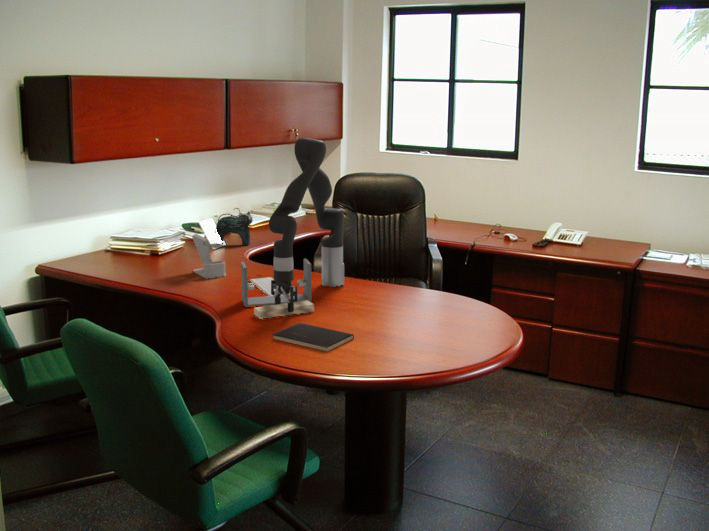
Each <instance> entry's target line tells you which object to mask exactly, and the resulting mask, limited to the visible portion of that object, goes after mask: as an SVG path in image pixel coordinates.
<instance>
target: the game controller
mask: <svg viewBox="0 0 709 531" xmlns="http://www.w3.org/2000/svg"><path fill="white" fill-rule="evenodd" d="M236 209H237V210H238V211H239V213H238V215H233V214H231V213H223V214H221V215H219V217H218V219H217V223H216V228H215V230H216V229H217V232H218V234H219V235H220V237H221V240H222V241H225V237H226V235H227V234H230V233H231V234H237V235H239V236H240V239H241V244H242V246H243V247H244V246H246V247H247V246H251V234H250V233H251V232H250V228H249V227H250V225H251V224H252V223H253V216H252V215H251V213H250V211H247V212H246V213H243V212H241V209H240V208H238V207H235V208H234V210H236ZM225 215H228V216H225ZM222 216H223V217H222Z"/></svg>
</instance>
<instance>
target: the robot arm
mask: <svg viewBox="0 0 709 531" xmlns="http://www.w3.org/2000/svg"><path fill="white" fill-rule="evenodd" d="M293 152H294V156H295V159H296V161H297V163H298V166H299V168H300V170H301V173H300V174H299V175H298V176H297V177H295V178H294V180H292V181H291V182H290V183H289V184H288V186H287V188H286V189H285V192H284V194H283V197H282V199H281V202H280V203H279V205H278V206H277V207H276V209H275V210H274V211H273V213H272V214H271V216H270V218H269V220H268V228H269V230H270V232H272V233H274V234H278V235H282V238H281V239H278V240H275V242H273V262H272V263H273V264H272V265H273V279H274V280H271V295H274V298H275V305H277V304H281V297H280V296H281V294H283V295H284V297H285V298H286V299H287V301H288V312H289V313H290V312H293V311H294V302H297V301H298V298H297V294H298V286H297V285H293V284H292V282H293V281H294V280H295V278H294V277H295V275H294V274H295V273H294V272H295V269H294V263H295V262H294V253H293V252H294V249H293V246H294V242H295V237H296V234H297V229H298V223H297V220H296V219H295V217H293V216H291V214H295V213H297V212H298V211H299V210H300V207H301V204H302V202H303V199H304V197H305V194H306V192H307V190H308V193H309V195H310V198H311V200H312V203H313V206H314V211H315V217H316V221H317V224H318V227H319V229H321V230H324V231H334V232H333V234H331V235H329V236H327V237H324V238H322V239H321V285H322V286H323V285H324V286H323V287H326V286H330V287H329V288H337V287H336V286H338V287H341V285H343V286H345V263H344V229H345V228H344V226H345V213H344V210H343V209H341V208H334V207H332V208H331V207H330V208H329V207H328V208H327V207H326V204H327V202H328V201H329V200H330V198H331V196H332V193H333V186H332V184H331V181H330V178H329V175H327V173H326V172H325V171H324V170H323V169H322V168H321V165H322V164H323V162H324V159H325V157H326V153H327V146H326V143H325V141H323V140H320V139H314V138H308V137H299V138H298V139H296V141H295V143H294V151H293ZM274 289H275V291H274ZM289 293H290V294H289ZM288 294H289V295H288ZM293 296H295V299H294V297H293ZM289 297H290V299H289Z"/></svg>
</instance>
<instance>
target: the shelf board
mask: <svg viewBox="0 0 709 531" xmlns="http://www.w3.org/2000/svg"><path fill="white" fill-rule="evenodd" d="M253 312H254V313H253V316H254V315H256V316H257V317H258V318H259V319H262V320H264V319H263V318H269V317H276V316H283V317H285V316H284V315H290V316H292V315H291V314H297V315H301V314H300V313H304V314H309V313H308V312H311V313H314V312H315V303H313V302H312V303H311V302H310V301H308V300H306V301H299V302H294V311H293V312H290V313H289V312H288V303H284V304H277V305H269V306H262V307H253ZM256 316H255V317H256ZM257 317H256V318H257ZM258 318H257V319H258ZM276 318H277V317H276ZM259 319H258V320H259ZM269 319H270V318H269Z"/></svg>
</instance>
